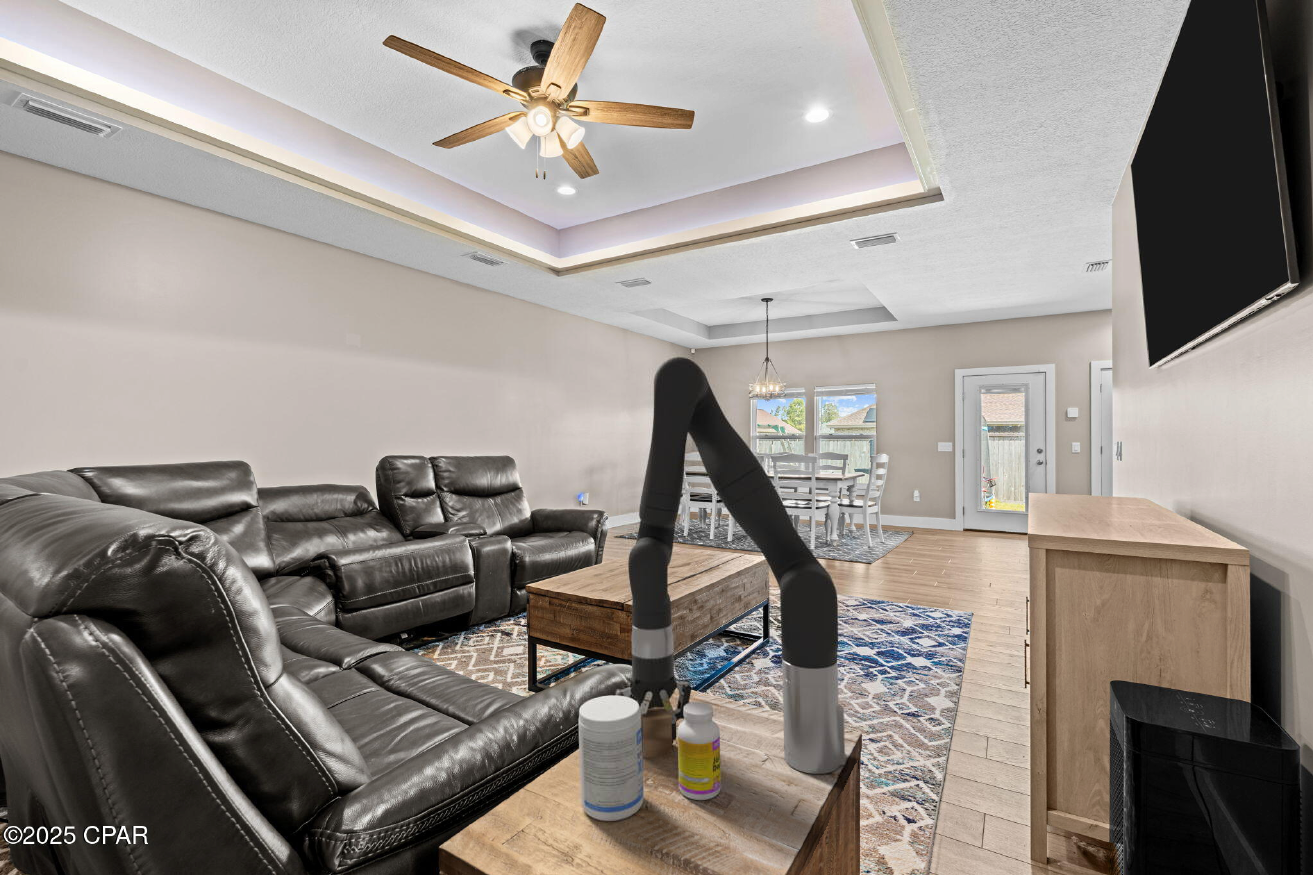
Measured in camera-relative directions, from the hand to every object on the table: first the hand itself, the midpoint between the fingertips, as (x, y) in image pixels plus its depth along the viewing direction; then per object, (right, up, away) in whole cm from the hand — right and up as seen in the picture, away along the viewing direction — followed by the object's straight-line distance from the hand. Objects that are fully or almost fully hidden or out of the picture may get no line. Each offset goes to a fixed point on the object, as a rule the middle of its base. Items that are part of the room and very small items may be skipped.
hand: (654, 743), depth 106 cm
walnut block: (0, -1, 0) cm, 1 cm away
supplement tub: (-6, -1, -16) cm, 17 cm away
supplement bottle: (+7, -1, -13) cm, 15 cm away
